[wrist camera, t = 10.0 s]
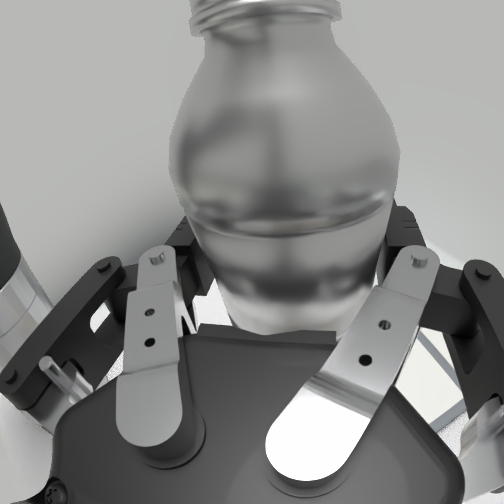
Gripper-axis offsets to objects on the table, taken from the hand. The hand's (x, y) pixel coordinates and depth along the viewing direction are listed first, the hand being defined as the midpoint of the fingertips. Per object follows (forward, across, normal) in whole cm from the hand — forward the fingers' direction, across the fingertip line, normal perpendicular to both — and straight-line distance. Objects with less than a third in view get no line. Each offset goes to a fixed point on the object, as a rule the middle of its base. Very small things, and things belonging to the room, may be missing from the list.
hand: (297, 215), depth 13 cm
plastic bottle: (-3, 0, +11) cm, 11 cm away
